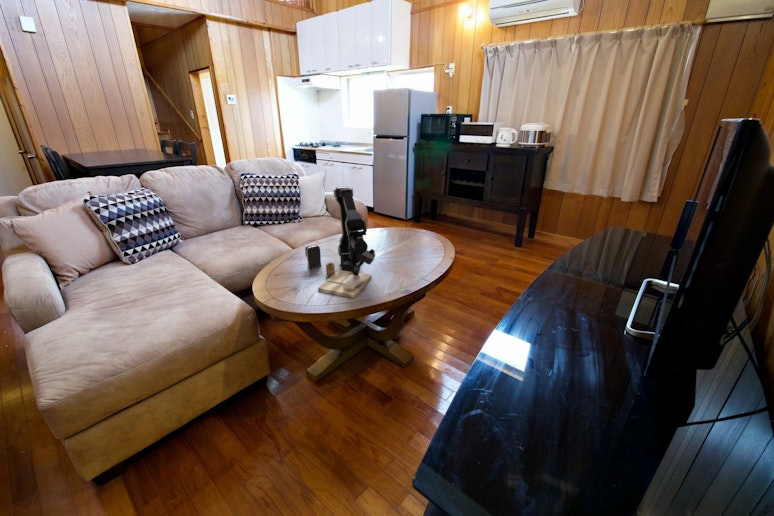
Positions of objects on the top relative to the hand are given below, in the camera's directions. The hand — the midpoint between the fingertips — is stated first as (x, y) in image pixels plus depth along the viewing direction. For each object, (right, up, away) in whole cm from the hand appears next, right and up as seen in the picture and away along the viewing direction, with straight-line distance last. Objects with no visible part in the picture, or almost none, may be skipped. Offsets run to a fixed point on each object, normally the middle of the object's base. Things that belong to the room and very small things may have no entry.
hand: (356, 277), depth 150 cm
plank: (-5, -3, 0) cm, 6 cm away
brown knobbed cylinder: (-13, 0, +7) cm, 15 cm away
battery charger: (-23, +4, +17) cm, 29 cm away
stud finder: (-2, -3, -4) cm, 5 cm away
